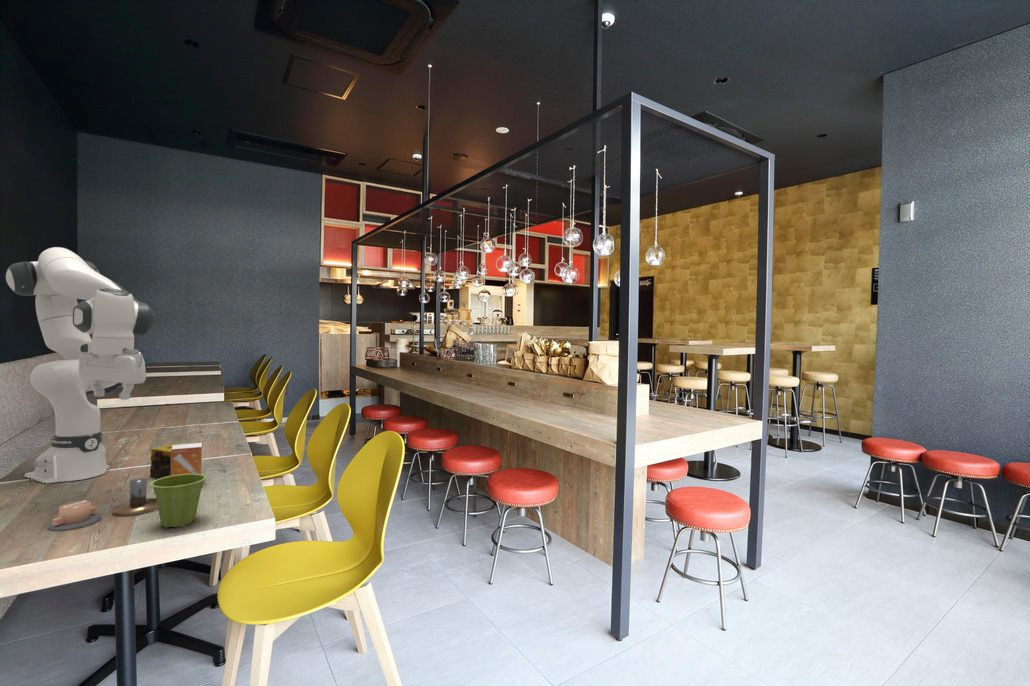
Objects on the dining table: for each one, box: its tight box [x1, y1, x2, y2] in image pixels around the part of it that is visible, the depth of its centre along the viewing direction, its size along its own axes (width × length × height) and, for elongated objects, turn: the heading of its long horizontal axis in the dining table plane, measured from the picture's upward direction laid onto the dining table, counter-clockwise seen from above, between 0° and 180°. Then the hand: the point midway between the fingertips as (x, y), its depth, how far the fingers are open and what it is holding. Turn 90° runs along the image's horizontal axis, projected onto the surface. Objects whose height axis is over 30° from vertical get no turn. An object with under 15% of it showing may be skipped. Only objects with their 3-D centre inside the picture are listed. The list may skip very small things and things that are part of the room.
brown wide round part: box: [111, 477, 158, 517], centre depth 132 cm, size 11×11×8 cm
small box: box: [171, 442, 203, 476], centre depth 151 cm, size 8×6×13 cm
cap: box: [51, 500, 97, 526], centre depth 121 cm, size 9×6×4 cm, turn 166°
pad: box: [47, 512, 102, 532], centre depth 121 cm, size 10×10×1 cm
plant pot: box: [150, 473, 207, 528], centre depth 123 cm, size 12×12×11 cm
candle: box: [149, 442, 184, 480], centre depth 161 cm, size 10×10×10 cm
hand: (111, 397), depth 131 cm, fingers open, 8 cm apart
